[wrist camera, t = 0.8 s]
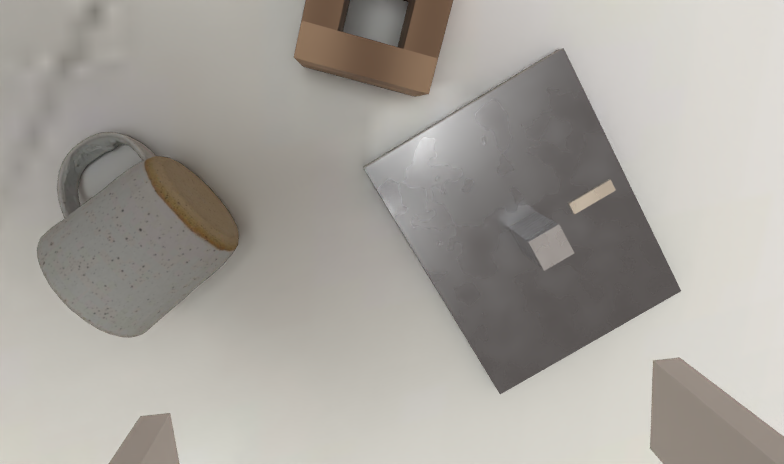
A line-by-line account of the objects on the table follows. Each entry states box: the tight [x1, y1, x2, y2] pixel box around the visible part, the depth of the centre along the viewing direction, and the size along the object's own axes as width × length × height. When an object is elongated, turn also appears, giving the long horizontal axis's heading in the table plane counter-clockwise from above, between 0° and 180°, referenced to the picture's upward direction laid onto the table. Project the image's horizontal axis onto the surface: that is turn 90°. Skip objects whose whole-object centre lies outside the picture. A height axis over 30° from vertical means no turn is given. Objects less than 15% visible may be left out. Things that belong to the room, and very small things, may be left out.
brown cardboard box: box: [294, 0, 453, 97], centre depth 30 cm, size 7×7×6 cm
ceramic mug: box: [37, 132, 239, 337], centre depth 31 cm, size 11×8×8 cm
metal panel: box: [363, 48, 681, 394], centre depth 34 cm, size 18×14×5 cm
